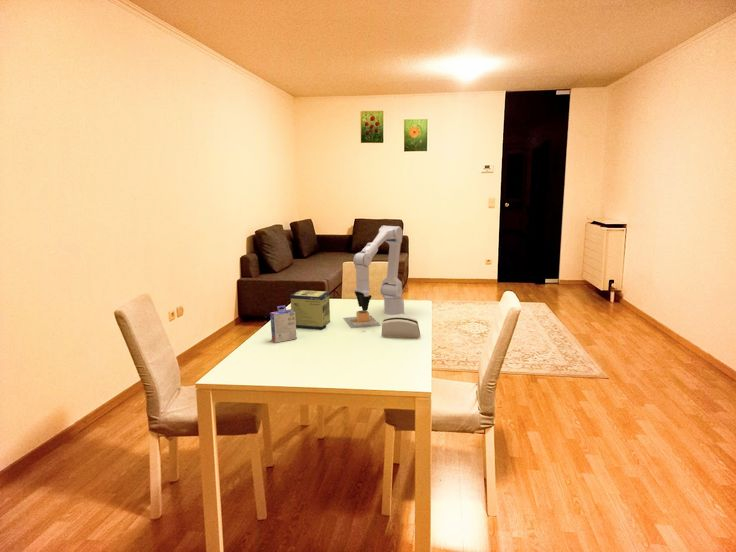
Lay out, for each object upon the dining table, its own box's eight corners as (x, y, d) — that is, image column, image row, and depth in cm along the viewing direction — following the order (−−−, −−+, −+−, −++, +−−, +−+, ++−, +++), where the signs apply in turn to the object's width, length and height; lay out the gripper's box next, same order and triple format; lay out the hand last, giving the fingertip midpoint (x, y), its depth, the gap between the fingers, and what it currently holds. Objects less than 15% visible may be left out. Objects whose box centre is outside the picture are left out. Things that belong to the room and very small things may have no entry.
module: (367, 321, 239) (366, 309, 237) (369, 323, 235) (369, 312, 234) (356, 322, 237) (356, 310, 236) (358, 324, 233) (358, 313, 232)
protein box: (323, 330, 231) (321, 296, 228) (291, 327, 236) (289, 294, 233) (330, 323, 241) (329, 291, 238) (300, 321, 246) (298, 289, 243)
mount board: (371, 317, 250) (371, 315, 250) (381, 327, 233) (380, 325, 233) (342, 319, 247) (342, 317, 247) (350, 330, 230) (350, 328, 230)
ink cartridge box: (292, 335, 224) (290, 303, 221) (297, 339, 219) (296, 306, 216) (270, 339, 219) (269, 306, 216) (275, 343, 214) (273, 309, 211)
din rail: (373, 321, 241) (373, 317, 240) (376, 325, 234) (376, 321, 234) (350, 322, 238) (350, 319, 238) (353, 327, 232) (353, 323, 231)
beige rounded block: (420, 334, 223) (420, 315, 218) (419, 340, 219) (418, 321, 214) (382, 332, 227) (381, 313, 222) (381, 338, 223) (379, 320, 218)
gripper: (350, 276, 238) (351, 305, 241) (357, 283, 224) (358, 313, 227) (365, 275, 240) (365, 304, 242) (373, 281, 226) (373, 311, 229)
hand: (363, 308), depth 235 cm, fingers open, 6 cm apart
